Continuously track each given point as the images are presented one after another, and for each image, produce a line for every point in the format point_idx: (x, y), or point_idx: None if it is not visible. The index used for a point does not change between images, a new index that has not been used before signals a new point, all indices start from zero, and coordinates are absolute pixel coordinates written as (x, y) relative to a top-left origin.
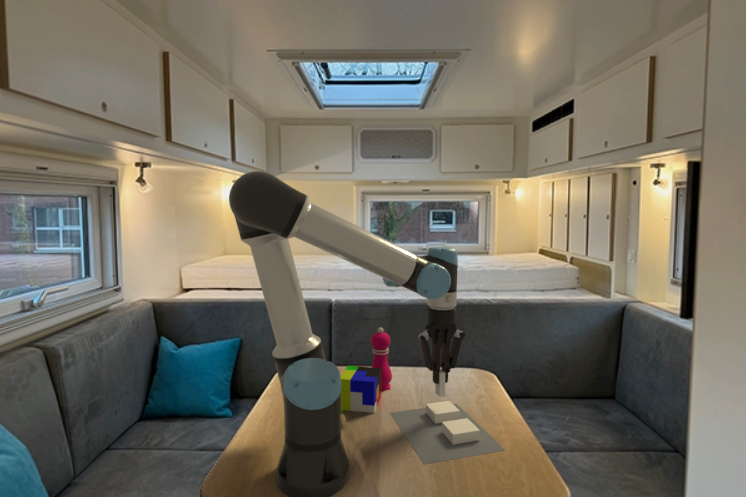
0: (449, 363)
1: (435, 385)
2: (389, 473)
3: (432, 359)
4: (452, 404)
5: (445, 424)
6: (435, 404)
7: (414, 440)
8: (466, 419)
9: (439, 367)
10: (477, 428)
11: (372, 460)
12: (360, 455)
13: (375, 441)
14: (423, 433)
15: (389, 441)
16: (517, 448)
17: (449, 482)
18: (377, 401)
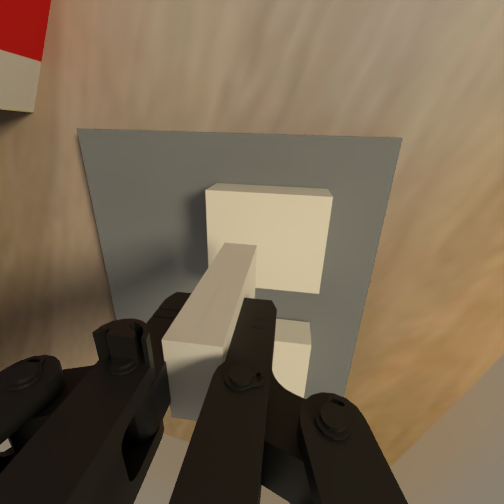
0: (294, 485)
1: (212, 262)
2: (69, 367)
3: (6, 480)
4: (323, 236)
5: None
6: (246, 209)
7: (131, 317)
8: (303, 349)
9: (139, 471)
10: (302, 397)
11: (35, 323)
12: (8, 298)
13: (40, 259)
14: (164, 298)
15: (77, 271)
16: (388, 406)
17: (173, 422)
18: (8, 26)
